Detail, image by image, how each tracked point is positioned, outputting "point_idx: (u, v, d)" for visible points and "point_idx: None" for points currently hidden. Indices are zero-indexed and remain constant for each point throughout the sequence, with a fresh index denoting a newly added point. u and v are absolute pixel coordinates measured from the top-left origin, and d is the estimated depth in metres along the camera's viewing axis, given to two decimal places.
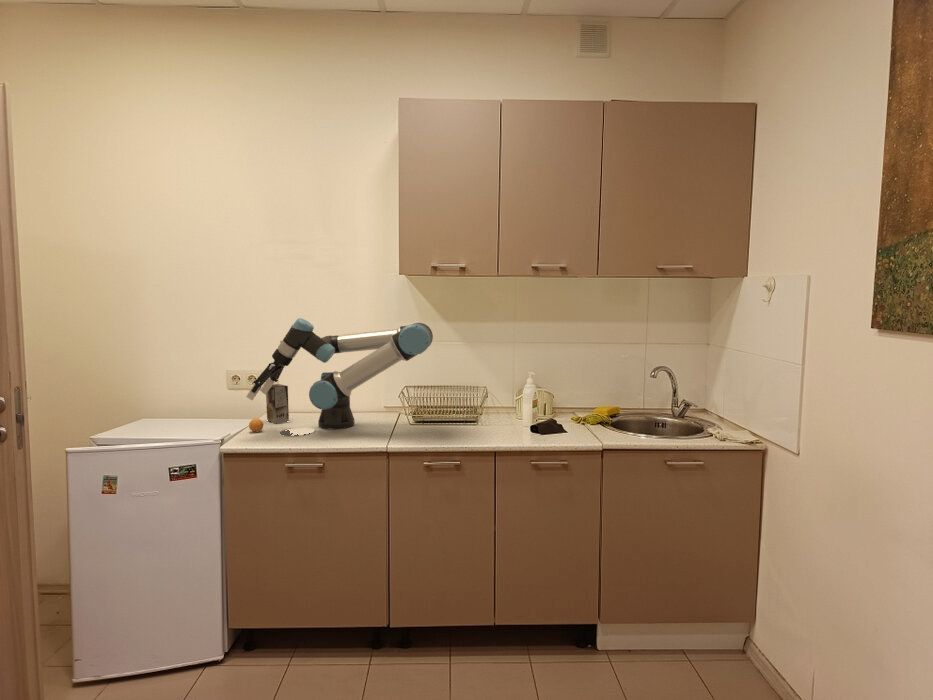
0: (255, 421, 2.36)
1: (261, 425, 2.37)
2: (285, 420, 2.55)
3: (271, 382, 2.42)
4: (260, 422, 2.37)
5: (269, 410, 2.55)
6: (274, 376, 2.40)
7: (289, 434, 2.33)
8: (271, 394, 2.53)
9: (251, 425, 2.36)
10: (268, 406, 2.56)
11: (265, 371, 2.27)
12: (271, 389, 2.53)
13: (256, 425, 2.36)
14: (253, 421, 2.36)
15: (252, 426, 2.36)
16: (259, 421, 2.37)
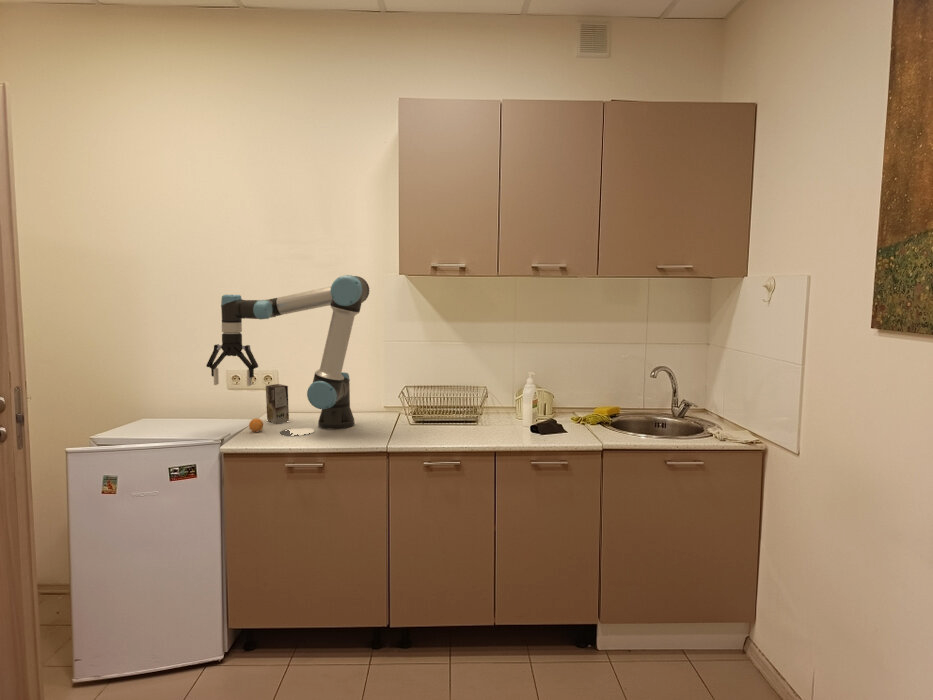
0: (255, 421, 2.36)
1: (261, 425, 2.37)
2: (285, 420, 2.55)
3: None
4: (260, 422, 2.37)
5: (269, 410, 2.55)
6: None
7: (289, 434, 2.33)
8: (271, 394, 2.53)
9: (251, 425, 2.36)
10: (268, 406, 2.56)
11: None
12: (271, 389, 2.53)
13: (256, 425, 2.36)
14: (253, 421, 2.36)
15: (252, 426, 2.36)
16: (259, 421, 2.37)
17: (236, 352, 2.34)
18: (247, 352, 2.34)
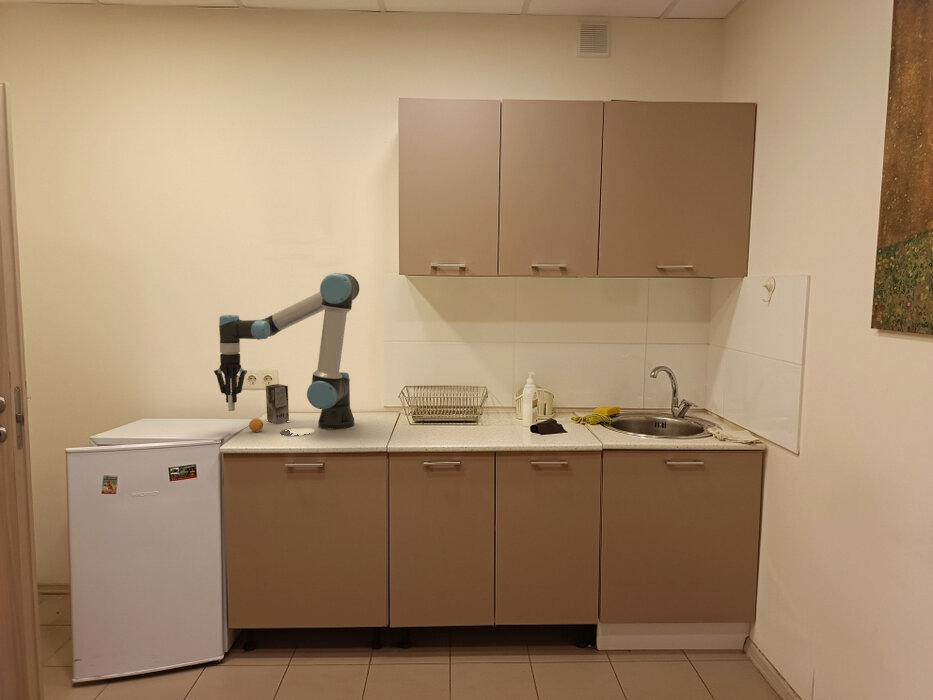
0: (255, 421, 2.36)
1: (261, 425, 2.37)
2: (285, 420, 2.55)
3: None
4: (260, 422, 2.37)
5: (269, 410, 2.55)
6: None
7: (289, 434, 2.33)
8: (271, 394, 2.53)
9: (251, 425, 2.36)
10: (268, 406, 2.56)
11: None
12: (271, 389, 2.53)
13: (256, 425, 2.36)
14: (253, 421, 2.36)
15: (252, 426, 2.36)
16: (259, 421, 2.37)
17: (232, 373, 2.35)
18: (240, 377, 2.35)
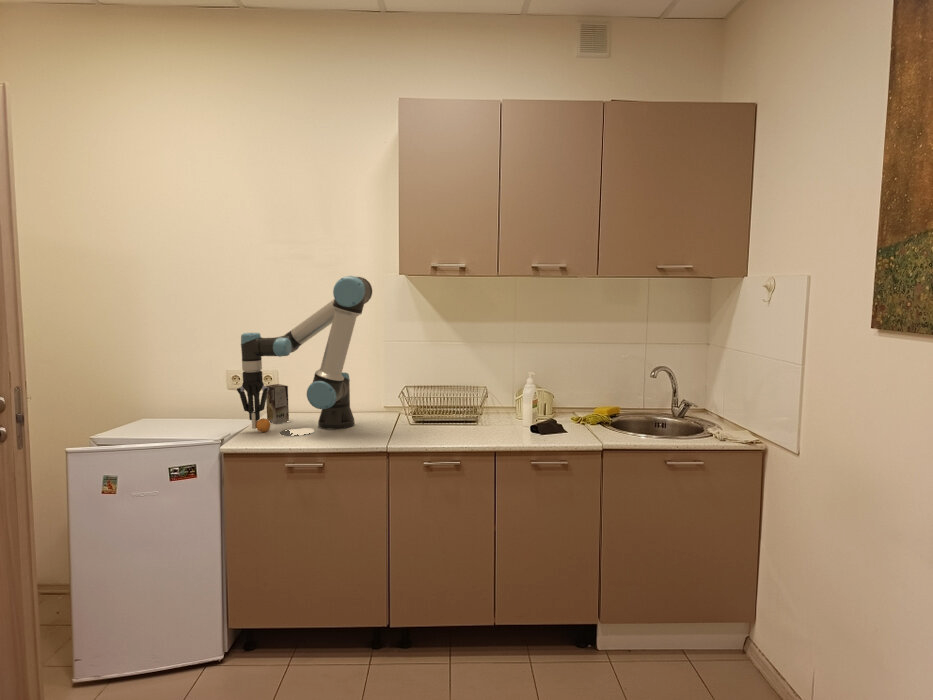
0: (265, 423, 2.36)
1: (267, 429, 2.38)
2: (285, 420, 2.55)
3: None
4: (268, 426, 2.37)
5: (269, 410, 2.55)
6: None
7: (289, 434, 2.33)
8: (271, 394, 2.53)
9: (259, 424, 2.36)
10: (268, 406, 2.56)
11: None
12: (271, 389, 2.53)
13: (263, 427, 2.36)
14: (264, 422, 2.36)
15: (260, 425, 2.36)
16: (268, 425, 2.37)
17: (254, 391, 2.35)
18: (263, 394, 2.36)
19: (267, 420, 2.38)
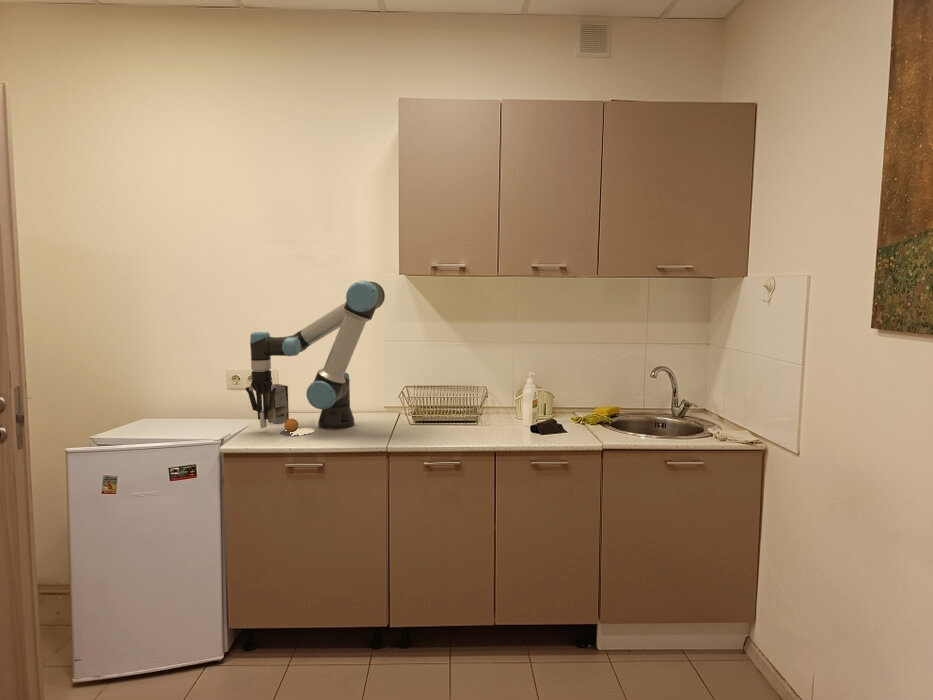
0: (285, 424, 2.36)
1: (291, 419, 2.37)
2: (285, 420, 2.55)
3: None
4: (288, 420, 2.37)
5: None
6: None
7: (289, 434, 2.33)
8: None
9: (287, 429, 2.36)
10: None
11: None
12: None
13: (288, 423, 2.35)
14: (285, 426, 2.36)
15: (288, 427, 2.35)
16: (287, 420, 2.37)
17: (263, 390, 2.35)
18: (272, 393, 2.36)
19: None
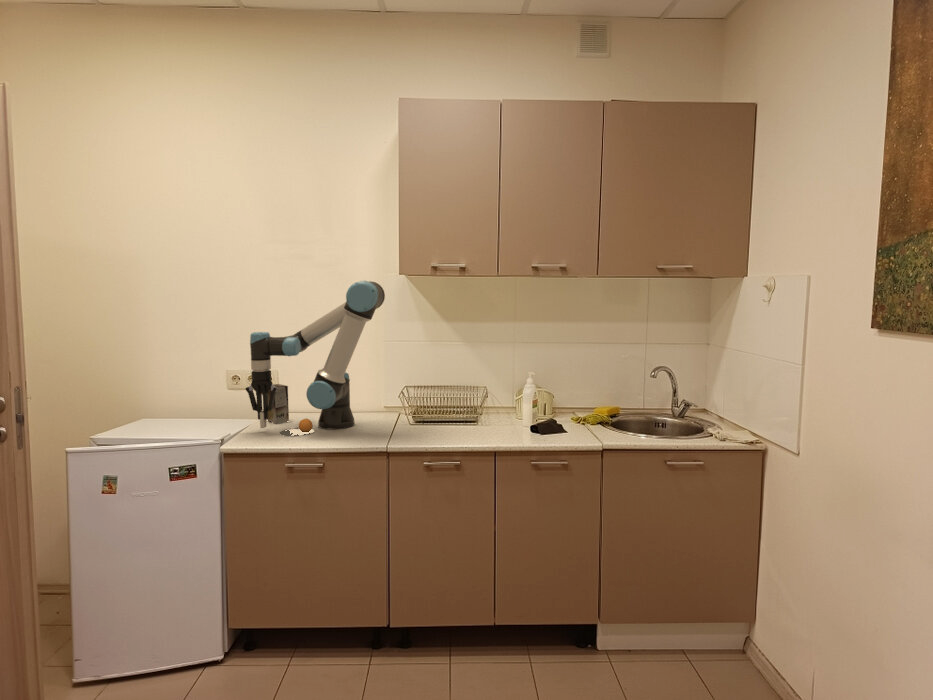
0: (308, 424, 2.36)
1: (309, 430, 2.37)
2: (285, 420, 2.55)
3: None
4: (311, 427, 2.37)
5: None
6: None
7: (289, 434, 2.33)
8: None
9: (302, 424, 2.35)
10: None
11: None
12: None
13: (306, 427, 2.35)
14: (306, 422, 2.36)
15: (303, 425, 2.35)
16: (311, 426, 2.37)
17: (263, 390, 2.35)
18: (272, 393, 2.36)
19: (309, 420, 2.37)
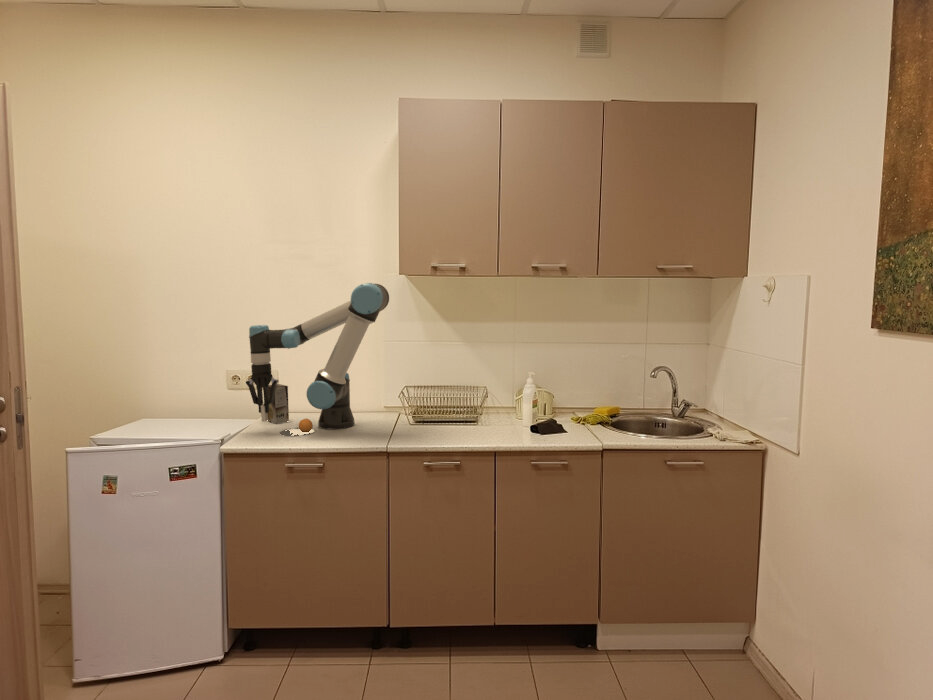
0: (308, 424, 2.36)
1: (309, 430, 2.37)
2: (285, 420, 2.55)
3: None
4: (311, 427, 2.37)
5: (269, 410, 2.55)
6: None
7: (289, 434, 2.33)
8: None
9: (302, 424, 2.35)
10: None
11: None
12: None
13: (306, 428, 2.35)
14: (306, 422, 2.36)
15: (303, 425, 2.35)
16: (311, 426, 2.37)
17: (263, 383, 2.35)
18: (272, 386, 2.35)
19: None
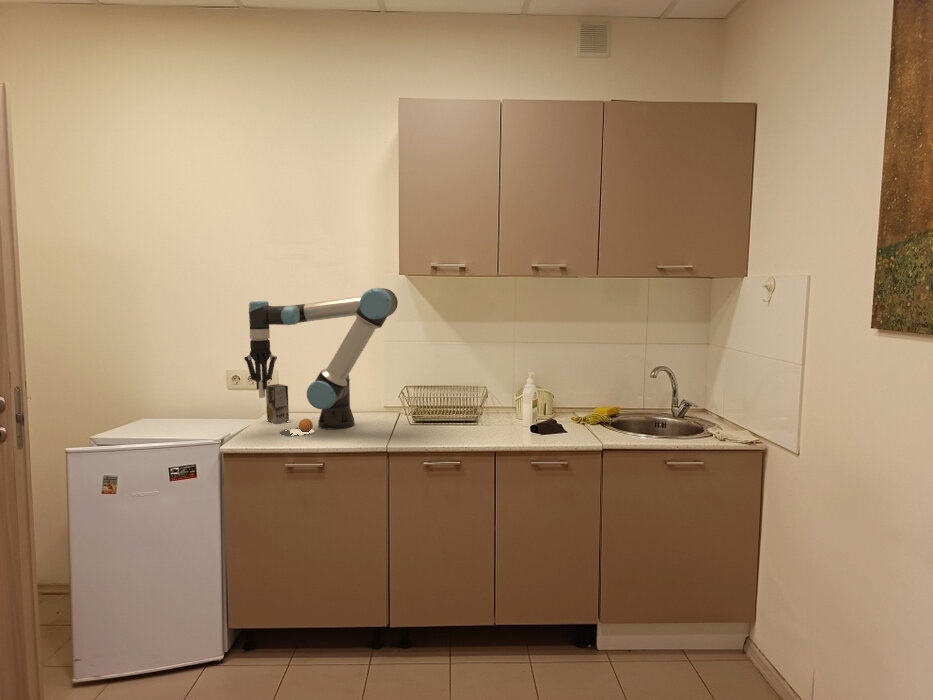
0: (308, 424, 2.36)
1: (309, 430, 2.37)
2: (285, 420, 2.55)
3: None
4: (311, 427, 2.37)
5: (269, 410, 2.55)
6: None
7: (289, 434, 2.33)
8: (271, 394, 2.53)
9: (302, 424, 2.35)
10: (268, 406, 2.56)
11: None
12: (271, 389, 2.53)
13: (306, 428, 2.35)
14: (306, 422, 2.36)
15: (303, 425, 2.35)
16: (311, 426, 2.37)
17: (262, 359, 2.34)
18: (271, 363, 2.34)
19: None
